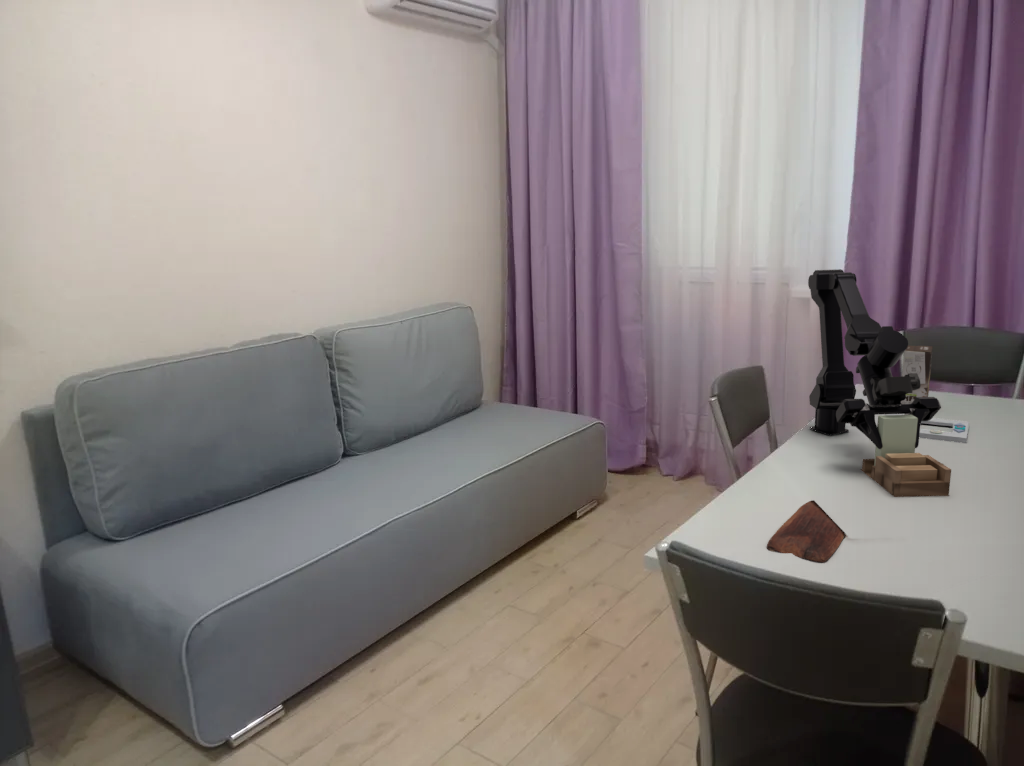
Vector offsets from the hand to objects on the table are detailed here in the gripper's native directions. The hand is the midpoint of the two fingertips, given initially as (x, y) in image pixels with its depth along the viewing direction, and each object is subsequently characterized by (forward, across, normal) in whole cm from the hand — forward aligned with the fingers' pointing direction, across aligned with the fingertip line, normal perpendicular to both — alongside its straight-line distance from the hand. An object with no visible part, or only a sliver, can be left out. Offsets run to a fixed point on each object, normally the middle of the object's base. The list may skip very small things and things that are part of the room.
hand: (898, 447), depth 147 cm
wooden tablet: (+20, -23, -9) cm, 32 cm away
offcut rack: (+7, 0, +3) cm, 8 cm away
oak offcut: (+6, 0, +2) cm, 7 cm away
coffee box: (-33, +30, +43) cm, 62 cm away
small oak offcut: (+9, 0, -1) cm, 9 cm away
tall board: (+3, 0, +5) cm, 6 cm away
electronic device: (-18, +22, +30) cm, 42 cm away
